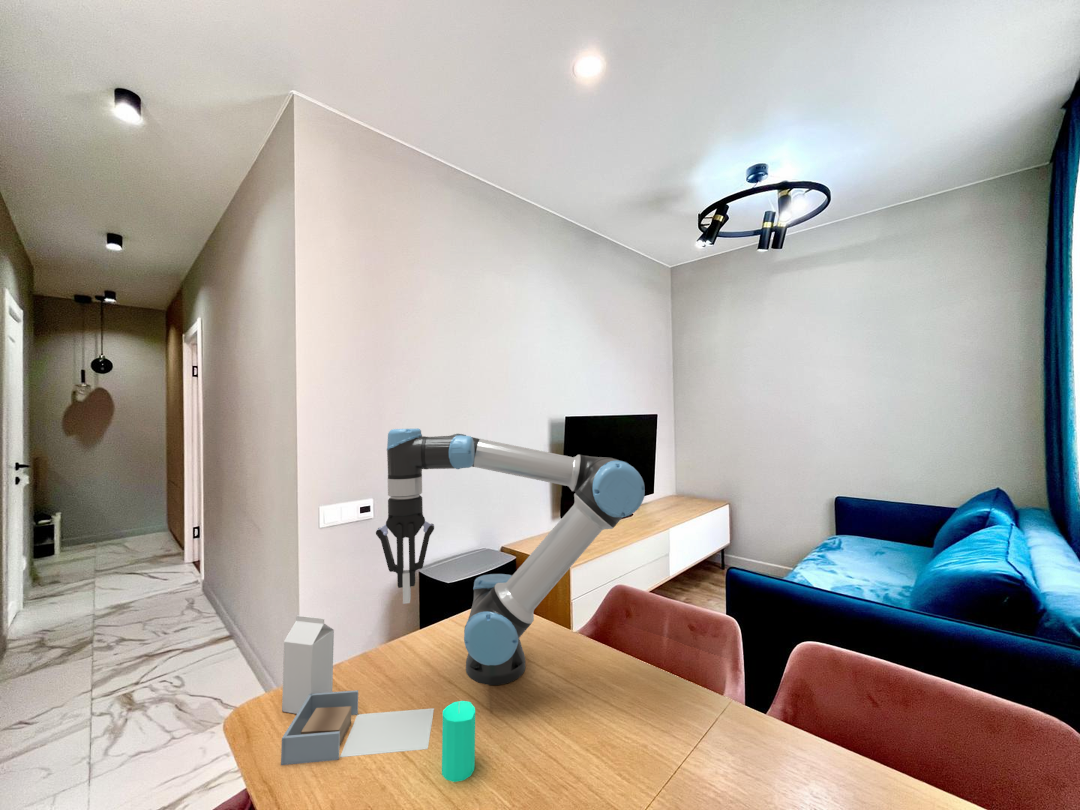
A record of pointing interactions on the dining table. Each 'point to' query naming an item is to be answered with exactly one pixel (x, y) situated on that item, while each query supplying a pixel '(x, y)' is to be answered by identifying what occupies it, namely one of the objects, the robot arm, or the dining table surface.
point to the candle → (458, 741)
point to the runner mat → (389, 732)
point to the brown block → (329, 721)
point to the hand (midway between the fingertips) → (406, 600)
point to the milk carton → (307, 662)
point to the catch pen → (315, 744)
